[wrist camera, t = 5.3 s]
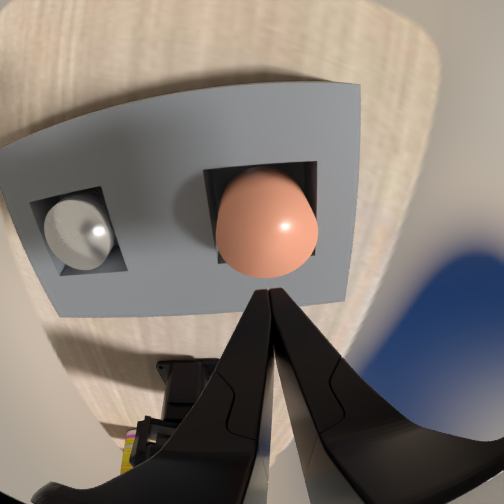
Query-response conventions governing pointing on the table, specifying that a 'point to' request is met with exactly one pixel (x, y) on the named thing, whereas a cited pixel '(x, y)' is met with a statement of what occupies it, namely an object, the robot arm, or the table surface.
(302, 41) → the table surface
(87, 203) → the steel plunger
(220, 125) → the panel
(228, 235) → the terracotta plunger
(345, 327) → the table surface
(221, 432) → the robot arm
